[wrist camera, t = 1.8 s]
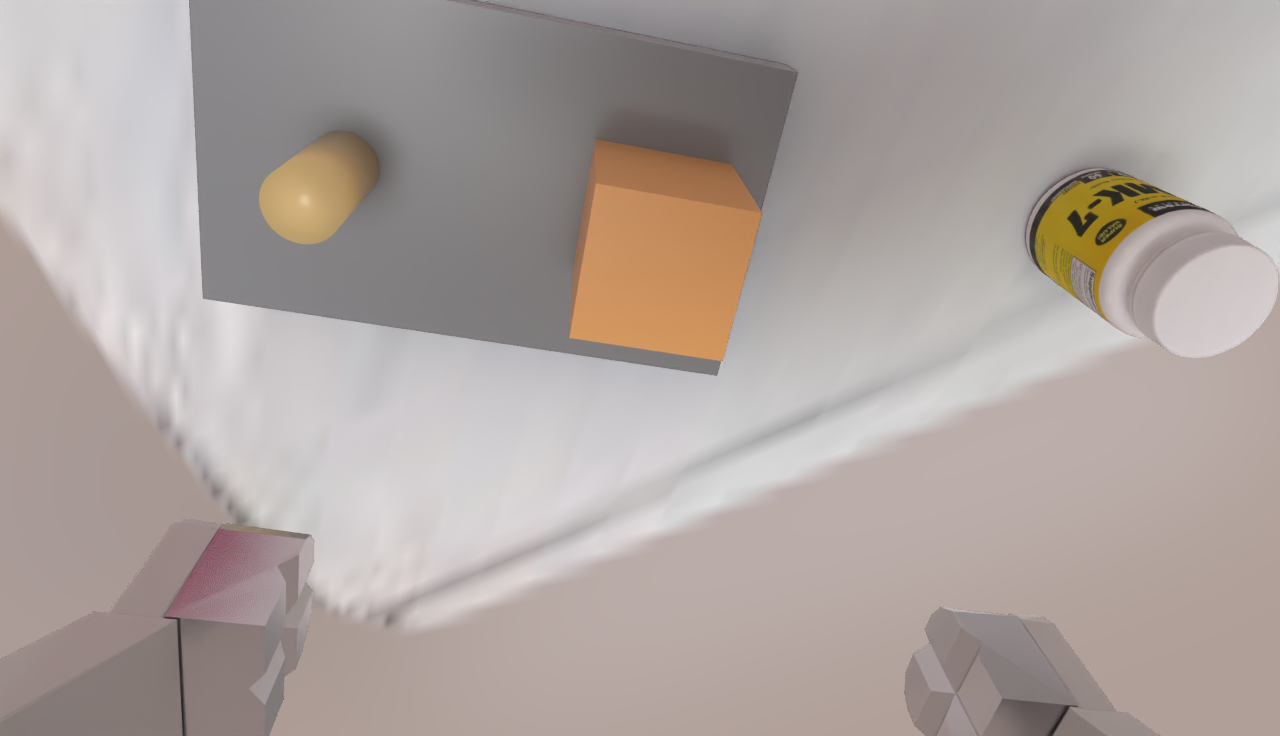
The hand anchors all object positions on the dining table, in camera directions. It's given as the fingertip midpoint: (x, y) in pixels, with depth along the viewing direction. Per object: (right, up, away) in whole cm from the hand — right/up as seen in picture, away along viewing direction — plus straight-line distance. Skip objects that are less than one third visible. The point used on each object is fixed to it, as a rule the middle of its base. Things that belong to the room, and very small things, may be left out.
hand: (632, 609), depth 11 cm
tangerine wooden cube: (0, +9, +20) cm, 22 cm away
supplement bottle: (+18, +9, +23) cm, 31 cm away
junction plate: (-6, +10, +21) cm, 24 cm away
